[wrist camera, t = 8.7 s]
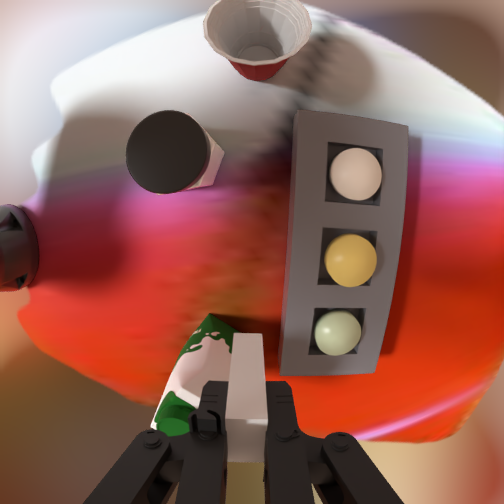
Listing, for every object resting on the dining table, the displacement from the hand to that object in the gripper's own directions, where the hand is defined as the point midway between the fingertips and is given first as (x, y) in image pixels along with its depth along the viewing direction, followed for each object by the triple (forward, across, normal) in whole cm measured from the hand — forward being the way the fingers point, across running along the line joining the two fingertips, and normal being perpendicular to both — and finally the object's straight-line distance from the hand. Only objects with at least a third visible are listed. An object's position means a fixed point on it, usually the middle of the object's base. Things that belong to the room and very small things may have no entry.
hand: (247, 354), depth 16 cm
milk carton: (+26, -4, -14) cm, 30 cm away
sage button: (+21, +12, -10) cm, 26 cm away
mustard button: (+20, +12, 0) cm, 23 cm away
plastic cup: (+26, 0, +26) cm, 36 cm away
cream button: (+21, +12, +10) cm, 27 cm away
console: (+25, +12, 0) cm, 28 cm away
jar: (+26, -8, +12) cm, 29 cm away
